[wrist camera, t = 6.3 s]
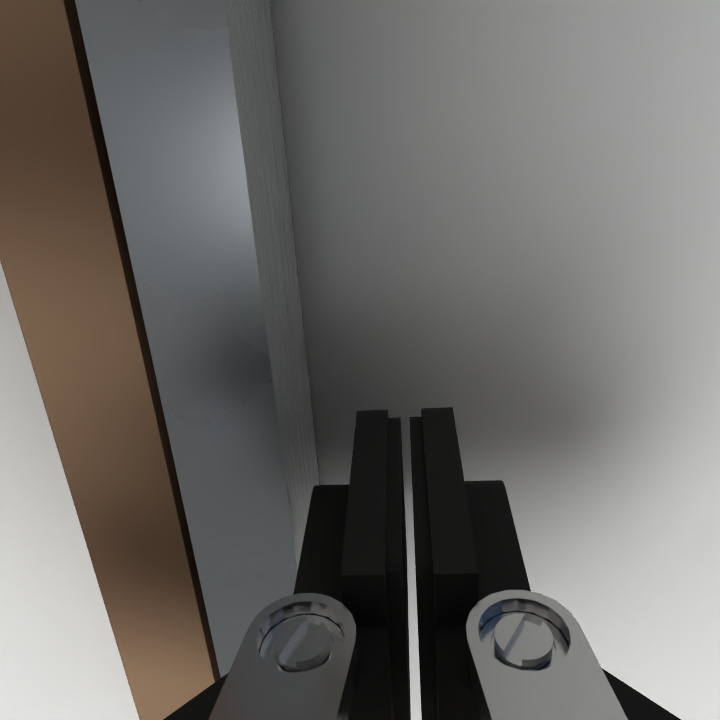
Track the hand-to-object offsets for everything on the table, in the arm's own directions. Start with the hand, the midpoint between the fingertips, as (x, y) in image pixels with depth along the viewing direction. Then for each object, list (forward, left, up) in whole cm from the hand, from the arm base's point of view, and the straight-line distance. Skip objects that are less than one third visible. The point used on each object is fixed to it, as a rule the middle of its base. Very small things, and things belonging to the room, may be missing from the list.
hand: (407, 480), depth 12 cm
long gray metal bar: (0, -3, -1) cm, 3 cm away
